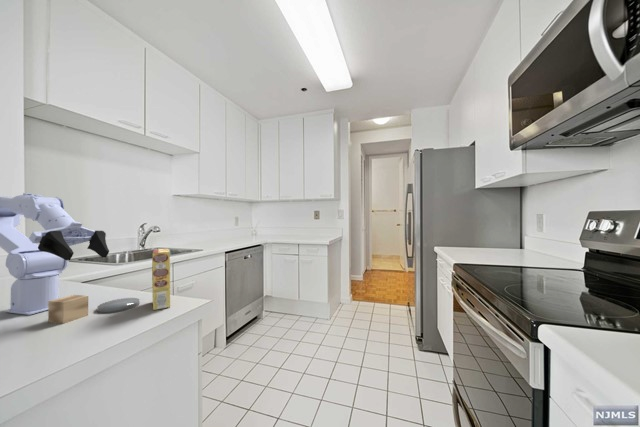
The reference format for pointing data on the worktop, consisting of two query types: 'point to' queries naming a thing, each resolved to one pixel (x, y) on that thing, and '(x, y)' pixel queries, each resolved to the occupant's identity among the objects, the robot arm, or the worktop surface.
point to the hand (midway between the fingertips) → (89, 255)
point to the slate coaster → (118, 305)
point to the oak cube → (67, 309)
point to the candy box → (161, 278)
